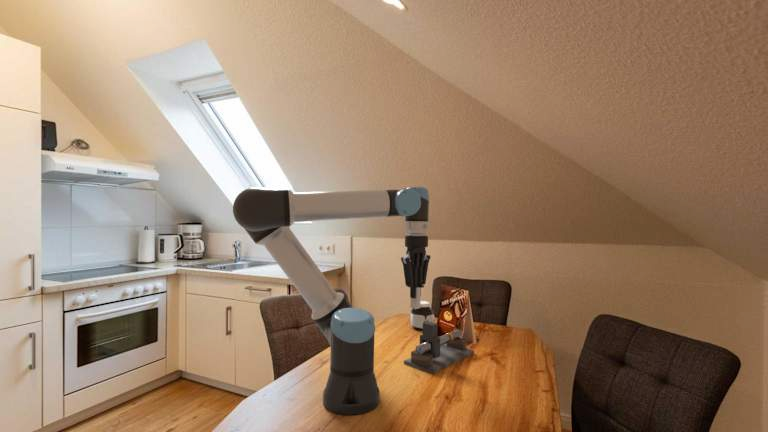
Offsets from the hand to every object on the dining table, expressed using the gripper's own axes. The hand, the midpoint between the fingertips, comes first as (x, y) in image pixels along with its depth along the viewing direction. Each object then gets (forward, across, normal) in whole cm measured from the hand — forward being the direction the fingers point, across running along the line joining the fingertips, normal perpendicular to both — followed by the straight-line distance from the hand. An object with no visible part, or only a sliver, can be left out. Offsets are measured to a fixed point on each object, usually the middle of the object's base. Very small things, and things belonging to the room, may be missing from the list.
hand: (415, 307), depth 119 cm
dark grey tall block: (+18, +9, 0) cm, 20 cm away
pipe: (+16, +15, 0) cm, 22 cm away
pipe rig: (+20, +15, 0) cm, 25 cm away
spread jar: (+21, +42, +27) cm, 54 cm away
